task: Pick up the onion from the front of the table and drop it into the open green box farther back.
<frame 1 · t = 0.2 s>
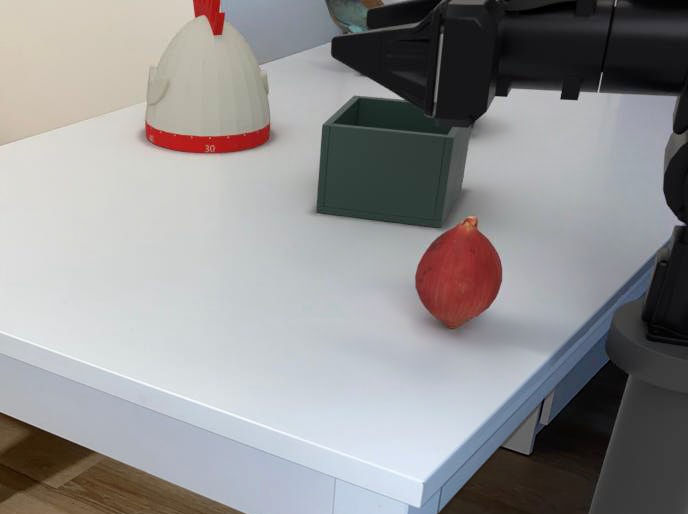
hand: (350, 31, 63), 18 cm above the table, tool horizontal, fingers open, 9 cm apart
onion: (450, 329, 71), on the table
decorative turtle: (442, 129, 114), on the table
kitchen timer: (207, 136, 111), on the table
bird figurine: (375, 70, 138), on the table
open green box: (390, 201, 93), on the table
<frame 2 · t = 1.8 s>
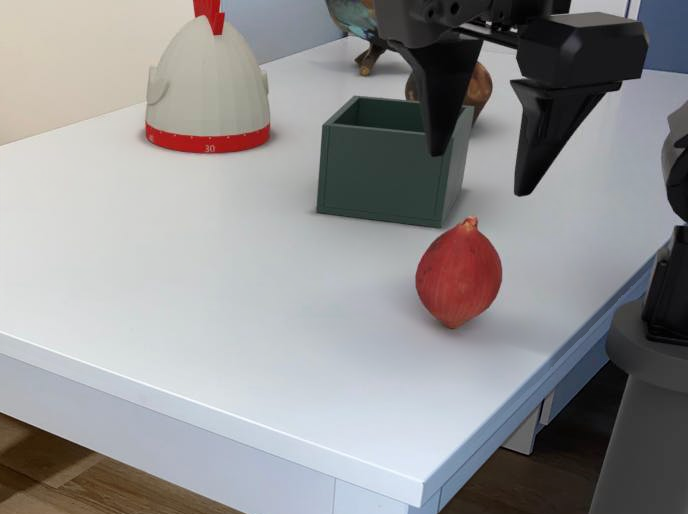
hand: (476, 174, 65), 11 cm above the table, tool pointing down, fingers open, 9 cm apart
nothing on the table moved.
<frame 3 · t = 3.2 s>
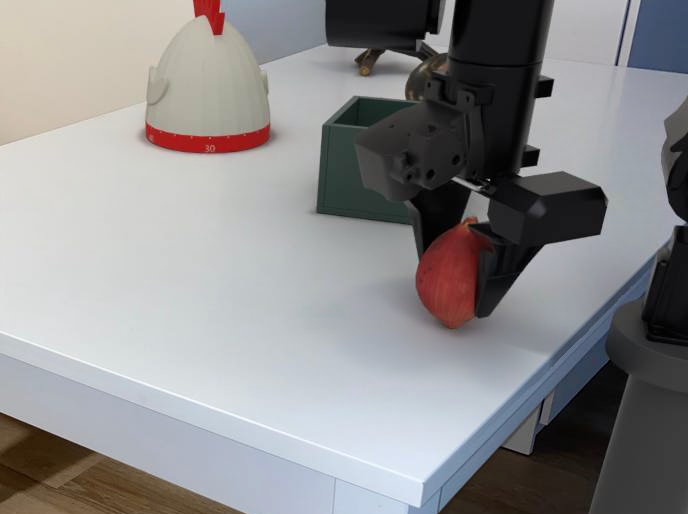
hand: (454, 300, 70), 2 cm above the table, tool pointing down, fingers closed on onion, 6 cm apart
onion: (450, 329, 71), on the table, touching gripper
everything else where it was.
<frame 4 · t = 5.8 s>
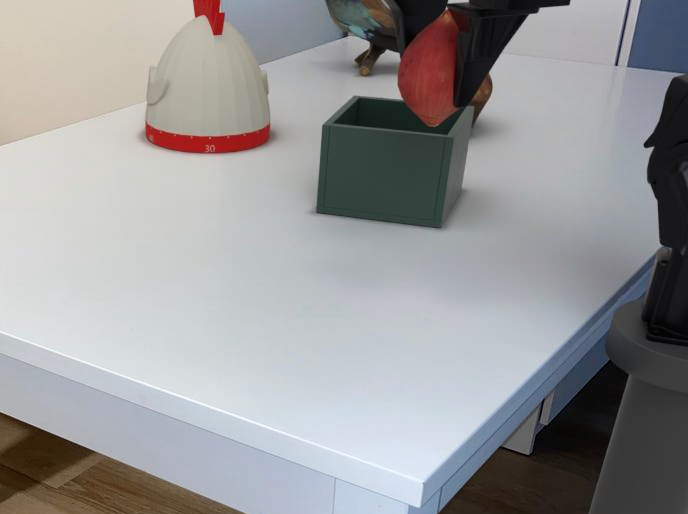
hand: (435, 97, 75), 12 cm above the table, tool pointing down, fingers closed on onion, 6 cm apart
onion: (430, 128, 76), point 10 cm above the table, touching gripper
everything else where it was.
when the fingers open (7 cm above the table, at t = 8.6 s): onion drops 3 cm, resting on open green box.
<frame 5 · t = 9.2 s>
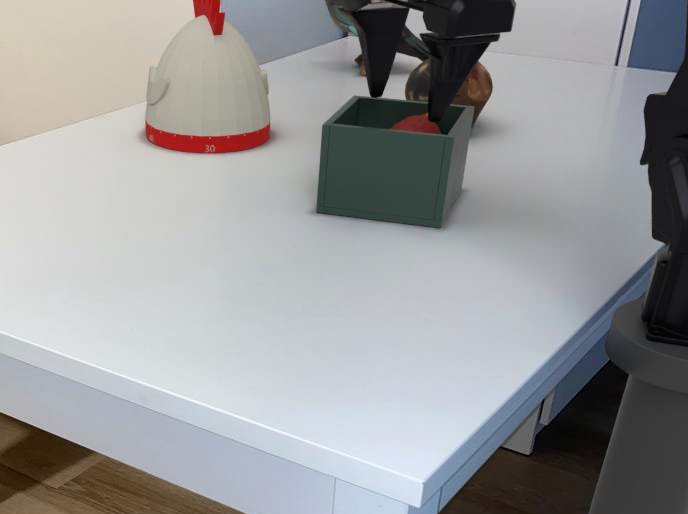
hand: (403, 108, 87), 8 cm above the table, tool pointing down, fingers open, 9 cm apart
onion: (395, 189, 91), point 1 cm above the table, touching open green box
everything else where it was.
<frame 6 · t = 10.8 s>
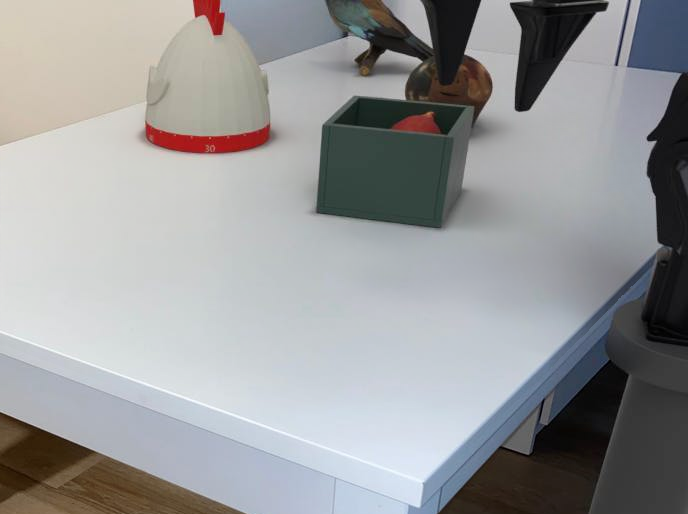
hand: (482, 97, 73), 13 cm above the table, tool pointing down, fingers open, 9 cm apart
nothing on the table moved.
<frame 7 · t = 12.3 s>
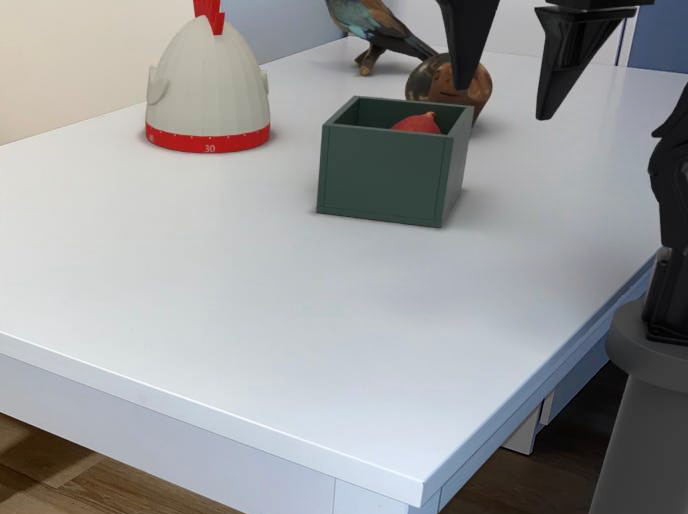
hand: (500, 104, 70), 13 cm above the table, tool pointing down, fingers open, 9 cm apart
nothing on the table moved.
at the end: onion inside the target area in the open green box (1.4 cm from its centre), point 1.5 cm above the open green box's base; the gripper is holding nothing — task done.
